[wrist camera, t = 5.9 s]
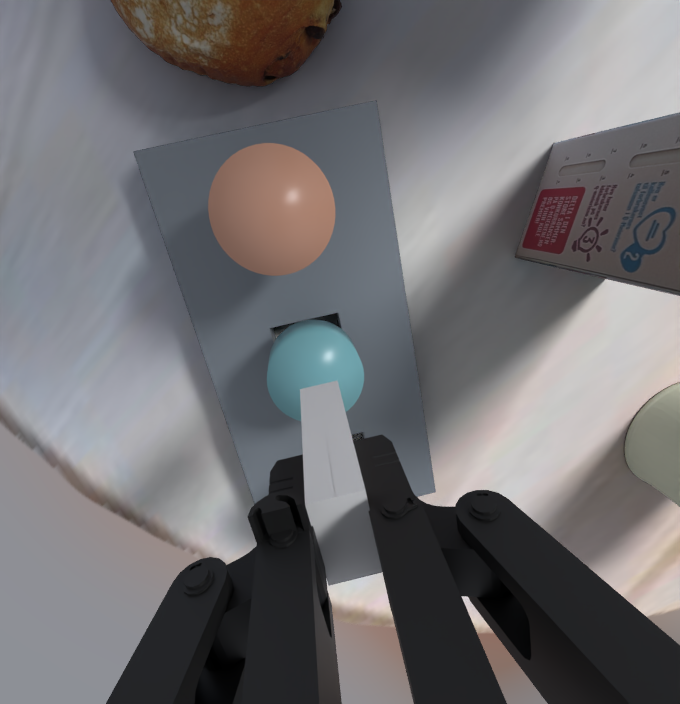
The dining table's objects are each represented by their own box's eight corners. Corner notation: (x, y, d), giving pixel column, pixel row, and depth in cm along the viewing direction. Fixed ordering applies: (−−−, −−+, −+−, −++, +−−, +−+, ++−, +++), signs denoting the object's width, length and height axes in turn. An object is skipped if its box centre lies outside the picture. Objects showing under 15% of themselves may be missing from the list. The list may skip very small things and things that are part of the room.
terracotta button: (212, 168, 19) (190, 158, 15) (313, 147, 19) (320, 130, 15) (241, 271, 21) (229, 287, 17) (334, 250, 21) (346, 261, 17)
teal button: (261, 321, 24) (255, 345, 20) (342, 302, 24) (354, 322, 20) (282, 395, 25) (280, 432, 21) (358, 376, 26) (371, 410, 21)
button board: (146, 156, 22) (133, 151, 20) (368, 109, 22) (376, 100, 20) (266, 514, 30) (265, 534, 28) (426, 474, 31) (435, 492, 29)
